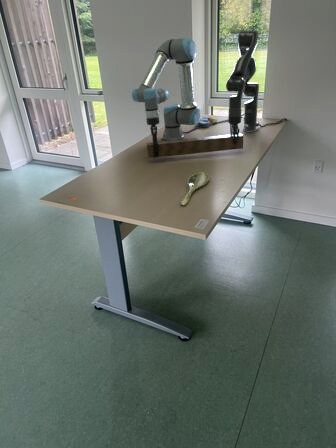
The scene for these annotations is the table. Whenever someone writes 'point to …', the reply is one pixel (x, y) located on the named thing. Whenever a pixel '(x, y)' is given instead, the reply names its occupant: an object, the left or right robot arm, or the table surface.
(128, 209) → the table surface
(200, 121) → the spray gun
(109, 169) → the table surface
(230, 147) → the block
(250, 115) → the right robot arm
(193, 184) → the spoon
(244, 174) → the table surface
